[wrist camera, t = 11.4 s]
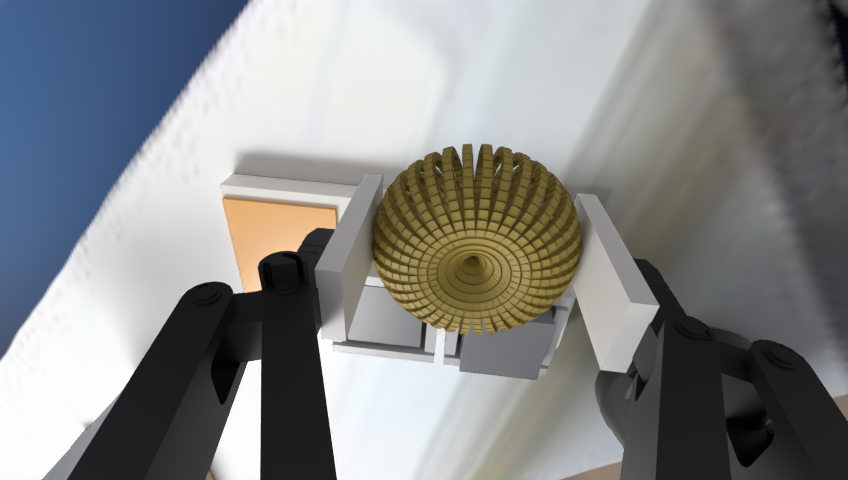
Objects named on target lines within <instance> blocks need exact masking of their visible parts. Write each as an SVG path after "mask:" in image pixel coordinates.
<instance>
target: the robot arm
mask: <svg viewBox="0 0 848 480" xmlns="http://www.w3.org/2000/svg"><path fill="white" fill-rule="evenodd" d="M381 199H383V175H382V174H372V173H364V175H363V177H362V179H361V181H360V183H359V185H358V187H357V189H356V191H355V193H354V195H353V196H352V198H351V200H350V202H349V204H348V206H347V208H346V210H345V212H344V214H343V216H342V218H341V219H340V221H339V223H338V225H337V227H336V229H327V228H316V229H315V230H313V231H312V232H310V233H309V234H307V235H306V237H305V239H304V240H303V242H302V245H300V247H299V248H298V250H297V252H294V251H280V252H276V253H272V254H270V255H268V256H266V257H264V258H263V259H262V260H261V261H260V262H259V265H258V267H257V268H258V273H259V278H260V283H261V288H262V290H259V291H254V292H247V293H238V294H233V290H232V289H231V287H230V286H229V285H227V284H225V283H223V282H207V283H203V284H200V285H197V286H195V287H193V288H191V289H190V290H188V291H187V292H186V293H185V294H184V295H183V296H182V297H181V299H180V301H179V302H178V304H177V305H176V307H175V308H174V310H173V312H172V313H171V315H170V316H169V318H168V320H167V321H166V323H165V324H164V326H163V327H162V329H161V331H160V332H159V334H158V335H157V337H156V339H155V340H154V342H153V343H152V345H151V347H150V348H149V350H148V351H147V353H146V354H145V356H144V358H143V359H142V361H141V362H140V364H139V366H138V367H137V369H136V370H135V372H134V374H133V375H132V377H131V378H130V380H129V381H128V383H127V385H126V386H125V388H124V389H123V391H122V393H121V394H120V396H119V397H118V399H117V401H116V402H115V404H114V405H113V407H112V408H111V410H110V412H109V413H108V415H107V416H106V418H105V420H104V421H103V423H102V424H101V426H100V427H99V429H98V431H97V432H96V434H95V435H94V437H93V439H92V440H91V442H90V443H89V445H88V447H87V448H86V450H85V451H84V453H83V454H82V456H81V458H80V459H79V461H78V462H77V464H76V466H75V467H74V469H73V470H72V472H71V474H70V475H69V477H68V478H67V480H206V477H207V474H208V471H209V469H210V466H211V463H212V460H213V457H214V455H215V452H216V449H217V446H218V443H219V441H220V438H221V435H222V432H223V430H224V427H225V424H226V421H227V418H228V416H229V413H230V410H231V407H232V404H233V402H234V399H235V396H236V393H237V391H238V388H239V385H240V382H241V379H242V377H243V374H244V371H245V368H246V365H247V363H248V361H254V360H260V359H261V466H260V480H337V477H336V470H335V462H334V455H333V448H332V441H331V433H330V426H329V419H328V412H327V404H326V397H325V390H324V383H323V375H322V368H321V361H320V354H319V346H318V339H317V334H318V332H319V329H320V327H321V334H322V338H323V339H332V340H341V341H346V339H347V336H348V333H349V330H350V327H351V324H352V321H353V318H354V315H355V312H356V309H357V306H358V303H359V300H360V297H361V294H362V291H363V288H364V285H365V282H366V279H367V276H368V274H369V271H370V268H371V265H372V262H373V251H372V241H373V236H374V235H373V233H372V231H373V223H374V220H375V217H376V209H378V208H377V207H378V205H379V203H380V201H381ZM574 207H576V210H577V213H578V218H579V220H577V221H579V222H580V227H581V229H580V230H581V234H582V235H581V243H582V244H581V253H580V255H579V256H580V257H579V258H578V266H577V267H576V268H577V269H576V271H575V273H574V275H573V278H572V280H571V282H572V285H573V288H574V291H575V294H576V297H577V300H578V303H579V306H580V309H581V312H582V315H583V318H584V321H585V324H586V327H587V330H588V333H589V336H590V339H591V342H592V346H593V349H594V352H595V355H596V358H597V361H598V364H599V367H600V372H599V374H598V376H597V379H596V383H595V394H596V398H597V401H598V404H599V408H600V411H601V414H602V416H603V418H604V420H605V422H606V424H607V425H608V427H609V428H610V429H611V430H612V431H613V433H614V434H615V436H616V437H617V439H618V440H619V442H620V443H621V445H622V446H623V448H624V453H623V461H622V469H621V476H620V480H848V421H847V420H846V418H845V417H844V415H843V414H842V412H841V411H840V410H839V408H838V407H837V405H836V403H835V402H834V400H833V399H832V397H831V396H830V394H829V393H828V392H827V390H826V389H825V387H824V386H823V384H822V383H821V381H820V380H819V378H818V377H817V375H816V374H815V372H814V371H813V369H812V368H811V366H810V365H809V364H808V363H807V361H806V360H805V359H804V358H803V357H802V356H800V355H799V354H798V353H796V352H795V351H794V350H792V349H790V348H789V347H786V346H784V345H782V344H779V343H776V342H773V341H770V340H757V341H754V342H753V343H750V342H749V341H747V340H746V339H744V338H742V337H740V336H738V335H735V334H732V333H729V332H726V331H721V330H716V329H710V327H709V326H707V325H706V324H704V323H703V322H701V321H700V320H697V319H695V318H693V317H690V316H687V315H686V314H685V312H684V310H683V309H682V307H681V306H680V304H679V303H678V301H677V299H676V298H675V296H674V295H673V293H672V292H671V290H669V287H668V285H667V284H666V282H664V279H663V277H662V276H661V274H660V273H659V271H658V269H656V268H655V267H654V266H653V265H651V264H650V263H649V262H648V261H647V260H643V259H633V258H632V256H631V255H630V253H629V251H628V249H627V248H626V246H625V244H624V242H623V241H622V239H621V237H620V235H619V234H618V232H617V230H616V228H615V227H614V225H613V223H612V221H611V220H610V218H609V216H608V214H607V213H606V211H605V209H604V208H603V206H602V204H601V202H600V201H599V199H598V197H597V195H593V194H582V193H577V195H576V198H575V202H574Z"/></svg>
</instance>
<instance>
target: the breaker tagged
mask: <svg viewBox="0 0 848 480" xmlns="http://www.w3.org/2000/svg"><path fill="white" fill-rule="evenodd" d="M422 327H423V321H420V320H418V318H416V317H415V316H414V315H413V316H412V315H410V314H409V313H408V312H407V311H406V310H404V308H403V307H401V306H400V305H399V304H398V303H397V302H396V301H395V299H394V298H393V297H392V296H391V295H390V294H389V293H388V292H387V290H386V289H385V287H379V286H370V285H364V288H363V291H362V294H361V297H360V300H359V303H358V306H357V309H356V312H355V315H354V318H353V321H352V324H351V327H350V330H349V333H348V340H357V341H366V342H375V343H384V344H392V345H401V346H410V347H419V348H420V343H421V335H422Z"/></svg>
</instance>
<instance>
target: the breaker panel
mask: <svg viewBox="0 0 848 480" xmlns="http://www.w3.org/2000/svg"><path fill="white" fill-rule="evenodd" d="M357 187H358V186H353V185H343V184H333V183H322V182H312V181H302V180H291V179H281V178H271V177H261V176H250V175H240V174H232V175H231V176H230V177H228V178H227V179H226V180H225V181H224V182H223V183H221V184H220V188H221V192H222V196H223V198H222V201H223V206H224V210H225V214H226V218H227V222H228V227H229V231H230V235H231V239H232V243H233V248H234V252H235V256H236V260H237V264H238V269H239V273H240V277H241V281H242V285H243V290H244V293H247V292H254V291H259V290H262V288H261V283H260V278H259V273H258V268H257V267H258V265H259V262H260V261H261V260H262V259H263V258H264V257H266V256H268V255H270V254H272V253H276V252H280V251H294V252H297V250H298V248H299V247H300V245H302V242H303V240H304V239H305V237H306V235H307V234H309V233H310V232H312V231H313V230H315V229H316V228H327V229H336V227H337V225H338V223H339V221H340V219H341V218H342V216H343V214H344V212H345V210H346V208H347V206H348V204H349V202H350V200H351V198H352V196H353V195H354V193H355V191H356V189H357ZM386 190H387V189H384V188H383V196H384V194H385V192H386ZM406 192H408V191H406ZM425 198H426V197H425ZM476 203H477V202H476ZM397 204H399V203H397ZM507 204H508V203H507ZM540 205H543V204H540ZM413 206H414V205H413ZM446 207H447V206H446ZM403 214H404V213H403ZM401 215H402V214H401ZM419 217H420V216H419ZM389 218H390V217H389ZM551 218H553V217H551ZM407 223H408V222H407ZM543 226H544V225H543ZM393 228H394V227H393ZM402 237H403V236H402ZM557 248H558V247H557ZM531 274H532V272H531ZM383 284H384V283H383V282H381V279H380V278H379V275H378V273H377V268H376V266H375V264H374V261H373V262H372V265H371V268H370V271H369V274H368V276H367V279H366V282H365V285H370V286H379V287H385V286H384V285H383ZM493 288H494V287H493ZM472 294H474V293H472ZM575 298H576V294H575V291H574V288H573V285H572V282H571V283H570V284H569V286H568V288H567V289H565V291H564V292H563V295H562V296H560V298H559V300H557V301H556V302H555V303H553V306H551V311H552V315H553V319H554V323H555V326H554V329H553V332H552V335H551V338H550V341H549V344H548V347H547V350H546V353H545V356H544V359H543V362H542V365H541V368H540V371H539V374H538V375H543V376H546V374H547V371H548V366H549V365H550V362H551V360H552V357H553V354H554V351H555V348H558V347H559V344H560V341H561V338H562V335H563V332H564V330H565V327H566V324H567V321H568V318H569V315H570V313H571V310H572V307H573V304H574V301H575ZM444 329H445V328H444V327H443V328H442V327H441V329H437V328H435V327H432V326H431V325H430V323H428V324H427V323H423V327H422V335H421V343H420V348H419V347H410V346H401V345H392V344H384V343H375V342H366V341H357V340H348V336H347V339H346V341H341V340H332V341H334V342H333V351H334V352H343V353H351V354H360V355H369V356H377V357H386V358H395V359H404V360H412V361H421V362H430V363H433V362H434V353H435V344H436V335H437V334H439V335H445V345H444V360H443V364H447V365H456V366H460V335H461V334H459V326H458V328H456V329H457V330H456V331H455V332H454V333H453V332H448V331H445V330H444Z"/></svg>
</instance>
